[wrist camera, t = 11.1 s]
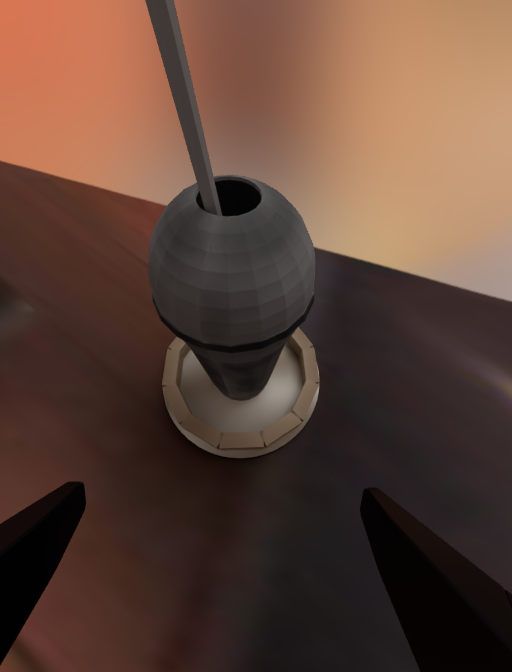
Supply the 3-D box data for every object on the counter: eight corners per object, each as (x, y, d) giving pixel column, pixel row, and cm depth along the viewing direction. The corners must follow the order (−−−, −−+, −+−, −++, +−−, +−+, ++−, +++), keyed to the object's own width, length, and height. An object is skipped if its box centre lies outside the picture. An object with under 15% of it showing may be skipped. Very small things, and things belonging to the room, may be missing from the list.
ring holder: (349, 399, 21) (358, 392, 20) (207, 497, 18) (203, 499, 16) (264, 292, 27) (266, 279, 25) (142, 351, 23) (133, 340, 21)
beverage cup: (303, 382, 21) (535, -57, 4) (229, 439, 19) (33, -19, 2) (250, 323, 24) (253, -88, 7) (181, 365, 22) (-81, -90, 4)
